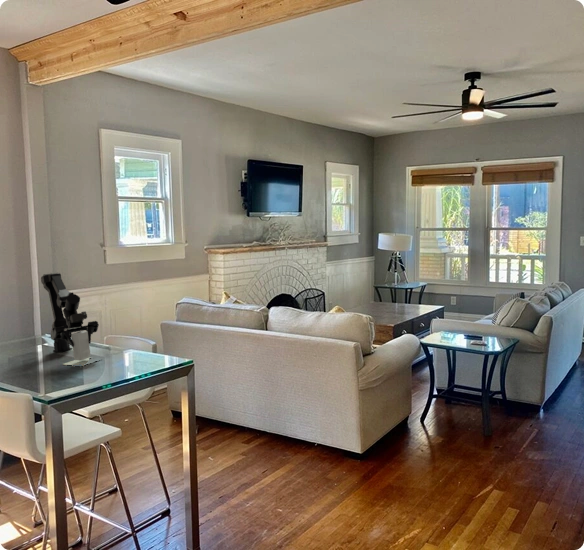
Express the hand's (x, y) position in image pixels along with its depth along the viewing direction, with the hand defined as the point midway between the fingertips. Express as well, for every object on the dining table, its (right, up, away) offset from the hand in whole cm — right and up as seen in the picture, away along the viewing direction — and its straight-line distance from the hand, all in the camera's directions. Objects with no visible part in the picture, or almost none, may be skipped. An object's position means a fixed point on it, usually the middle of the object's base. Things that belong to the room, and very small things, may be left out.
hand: (81, 344), depth 244 cm
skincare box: (0, -7, +2) cm, 7 cm away
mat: (0, -8, +2) cm, 8 cm away
